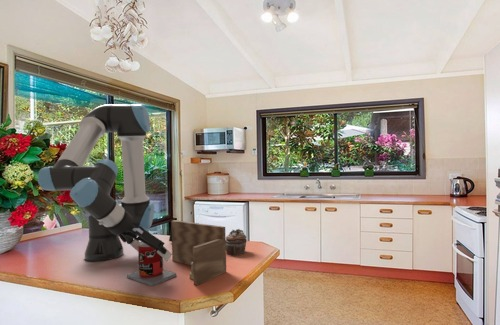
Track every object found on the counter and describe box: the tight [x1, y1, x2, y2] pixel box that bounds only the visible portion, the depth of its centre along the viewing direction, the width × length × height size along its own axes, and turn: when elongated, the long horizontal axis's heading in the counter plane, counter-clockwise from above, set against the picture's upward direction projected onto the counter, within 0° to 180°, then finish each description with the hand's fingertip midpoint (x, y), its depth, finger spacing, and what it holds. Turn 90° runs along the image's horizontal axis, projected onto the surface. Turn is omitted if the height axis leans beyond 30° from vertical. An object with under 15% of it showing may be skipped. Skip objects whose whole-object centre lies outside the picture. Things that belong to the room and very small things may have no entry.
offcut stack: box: [189, 262, 193, 280], centre depth 107 cm, size 4×9×5 cm, turn 144°
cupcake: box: [225, 228, 247, 256], centre depth 134 cm, size 10×10×10 cm
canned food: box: [137, 241, 164, 278], centre depth 107 cm, size 8×8×11 cm
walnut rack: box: [170, 219, 227, 286], centre depth 112 cm, size 27×14×16 cm, turn 54°
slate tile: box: [126, 269, 177, 287], centre depth 107 cm, size 14×10×1 cm
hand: (156, 254), depth 109 cm, fingers open, 13 cm apart
